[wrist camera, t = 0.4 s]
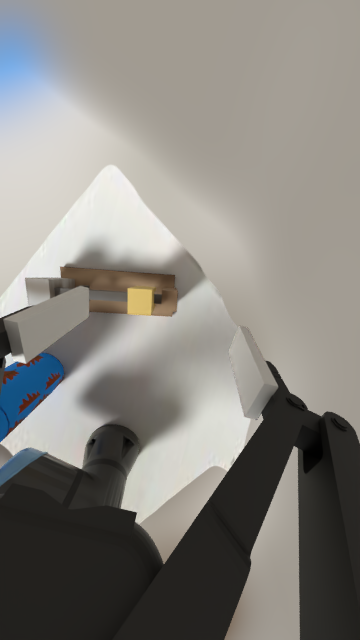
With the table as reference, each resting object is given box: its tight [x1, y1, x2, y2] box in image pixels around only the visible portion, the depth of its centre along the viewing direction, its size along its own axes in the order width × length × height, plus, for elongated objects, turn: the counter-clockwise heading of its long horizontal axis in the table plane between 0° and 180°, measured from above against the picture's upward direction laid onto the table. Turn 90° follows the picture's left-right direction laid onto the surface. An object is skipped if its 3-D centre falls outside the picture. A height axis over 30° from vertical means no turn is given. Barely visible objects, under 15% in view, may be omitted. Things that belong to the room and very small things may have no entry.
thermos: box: [0, 353, 64, 442], centre depth 35 cm, size 11×11×25 cm
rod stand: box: [25, 267, 178, 317], centre depth 39 cm, size 10×28×10 cm, turn 86°
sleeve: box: [128, 286, 156, 316], centre depth 35 cm, size 4×4×9 cm
